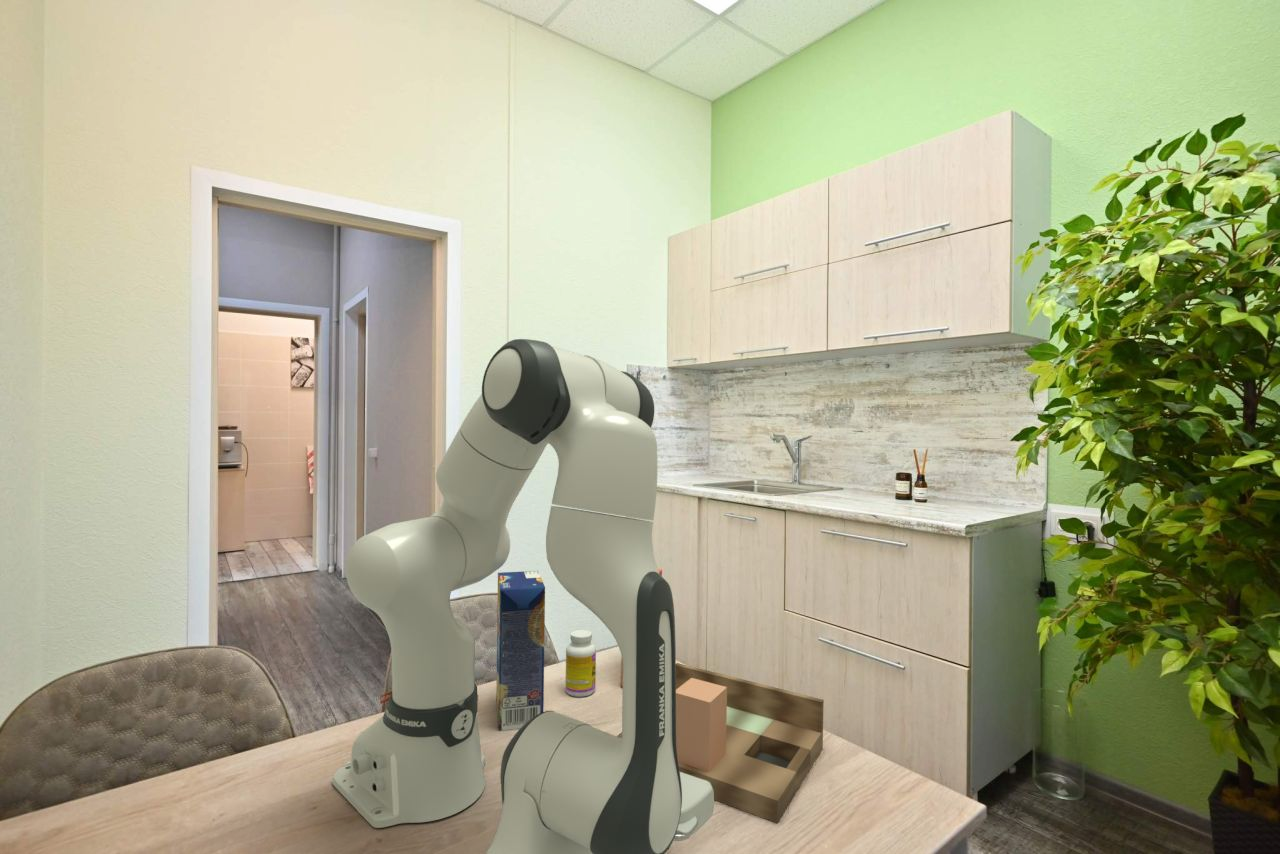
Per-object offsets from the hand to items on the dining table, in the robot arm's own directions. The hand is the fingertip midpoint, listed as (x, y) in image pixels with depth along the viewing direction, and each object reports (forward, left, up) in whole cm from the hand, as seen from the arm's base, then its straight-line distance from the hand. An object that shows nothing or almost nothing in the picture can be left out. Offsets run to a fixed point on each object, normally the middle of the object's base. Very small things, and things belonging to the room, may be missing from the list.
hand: (661, 754), depth 81 cm
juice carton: (-36, +12, -9) cm, 39 cm away
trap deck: (0, +19, -9) cm, 21 cm away
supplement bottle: (-32, +25, -9) cm, 42 cm away
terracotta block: (0, +12, -6) cm, 13 cm away
